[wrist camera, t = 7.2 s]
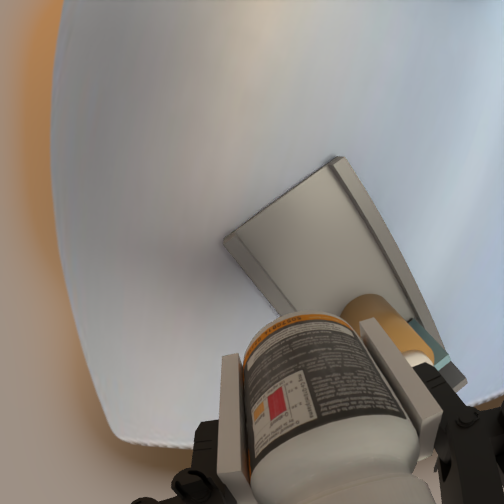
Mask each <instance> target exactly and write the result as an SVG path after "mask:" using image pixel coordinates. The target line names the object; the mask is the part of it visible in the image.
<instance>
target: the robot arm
mask: <svg viewBox="0 0 504 504" xmlns="http://www.w3.org/2000/svg"><path fill="white" fill-rule="evenodd" d="M359 326H360V336H361V340H362V341H363V343H364V344H365V346H366V348H367V349H368V351H369V353H370V355H371V356H372V358H373V360H374V361H375V363H376V364H377V366H378V368H379V369H380V371H381V372H382V374H383V375H384V377H385V378H386V380H387V382H388V383H389V385H390V386H391V388H392V390H393V391H394V393H395V395H396V396H397V398H398V399H399V401H400V403H401V405H402V407H403V408H404V410H405V411H406V413H407V414H408V416H409V418H410V419H411V422H412V424H413V426H414V427H415V429H416V431H417V434H418V438H419V443H420V453H419V458H418V461H421V460H423V459H425V458H427V457H430V456H432V453H433V449H434V448H435V450H436V452H437V454H438V458H437V461H436V464H435V467H434V472H437V469H438V473H439V481H440V489H441V499H442V504H504V492H503V487H504V401H503V403H502V405H501V407H498V408H494V409H490V410H485V411H479V410H477V409H476V408H474V407H470V406H466V405H465V404H464V403H463V402H462V400H461V399H460V398H459V397H458V395H457V394H456V393H455V391H454V390H453V389H452V388H451V386H450V385H449V384H448V383H447V382H446V380H445V379H444V378H443V376H441V374H440V373H439V371H438V370H437V369H436V368H435V367H434V366H432V365H430V364H428V363H426V362H424V363H421V364H419V365H416V366H414V367H411V365H410V364H409V363H408V361H407V360H406V359H405V357H404V356H403V355H402V353H401V352H400V351H399V349H398V348H397V347H396V345H395V344H394V343H393V341H392V340H391V339H390V337H389V336H388V335H387V333H386V332H385V331H384V329H383V328H382V327H381V326H380V324H379V323H378V322H377V320H376V319H375V318H374V317H373V318H370V319H366V320H363V321H360V322H359ZM418 461H417V462H418ZM171 483H172V484H171V488H172V490H174V492H175V493H176V494H177V496H175V497H173V498H170V499H166V500H163V501H159V502H158V501H156V500H155V499H153V498H149V497H143V498H138V499H137V500H135V501H133V502H132V503H131V504H258V503H257V501H256V500H255V498H254V496H253V493H252V490H251V484H250V476H249V458H248V444H247V430H246V418H245V405H244V384H243V366H242V363H241V360H240V357H239V354H238V353H235V354H231V355H226V356H222V368H221V387H220V407H219V420H212V421H205V422H201V423H200V425H199V426H198V428H197V430H196V431H195V438H194V446H193V456H192V465H191V468H186V469H184V470H182V471H180V472H179V473H178V474H176V475H175V476H174V478H173V480H172V482H171ZM502 486H503V487H502Z"/></svg>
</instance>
